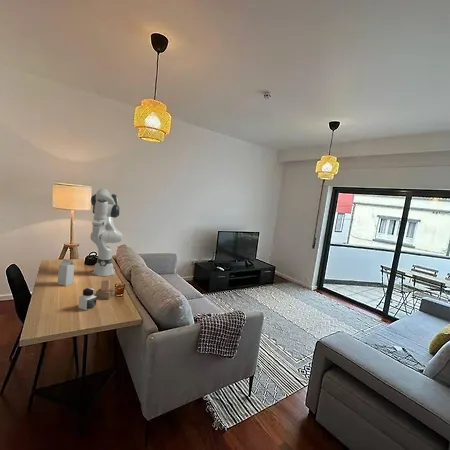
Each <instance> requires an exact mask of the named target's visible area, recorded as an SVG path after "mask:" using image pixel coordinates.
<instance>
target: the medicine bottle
mask: <svg viewBox="0 0 450 450" xmlns="http://www.w3.org/2000/svg"><path fill="white" fill-rule="evenodd" d="M94 293H95V289H94V288H92V287H87V288H84V289H83V290H82V295H81V296H79V297H78V307H77V308H78V309H80V310H84V311H89V310H91V309H94V308H96V306H97V299H98V298H97V297H96V295H95V294H94Z"/></svg>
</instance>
